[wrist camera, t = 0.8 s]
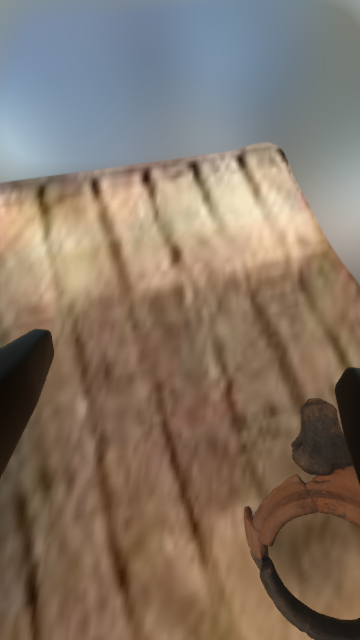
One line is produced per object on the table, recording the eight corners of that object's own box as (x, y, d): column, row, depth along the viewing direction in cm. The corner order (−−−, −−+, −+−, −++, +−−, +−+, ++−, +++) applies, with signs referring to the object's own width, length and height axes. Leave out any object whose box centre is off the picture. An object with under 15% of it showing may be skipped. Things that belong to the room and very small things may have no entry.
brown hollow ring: (405, 557, 21) (476, 694, 13) (264, 551, 24) (252, 659, 16) (364, 380, 22) (406, 408, 14) (234, 396, 25) (209, 426, 17)
